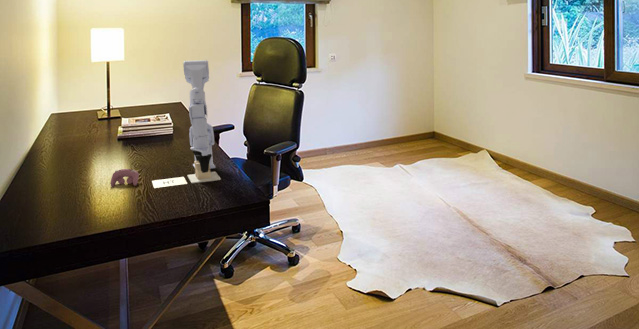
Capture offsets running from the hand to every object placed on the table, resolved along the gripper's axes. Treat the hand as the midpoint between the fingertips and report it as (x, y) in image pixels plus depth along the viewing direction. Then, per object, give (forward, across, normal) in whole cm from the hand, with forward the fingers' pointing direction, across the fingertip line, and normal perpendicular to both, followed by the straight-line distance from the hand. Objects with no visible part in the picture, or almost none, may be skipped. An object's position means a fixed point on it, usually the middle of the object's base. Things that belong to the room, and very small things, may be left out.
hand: (203, 169), depth 194 cm
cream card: (+3, 0, -13) cm, 13 cm away
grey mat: (+3, 0, 0) cm, 3 cm away
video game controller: (+4, -5, -28) cm, 29 cm away
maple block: (+3, 0, 0) cm, 3 cm away
